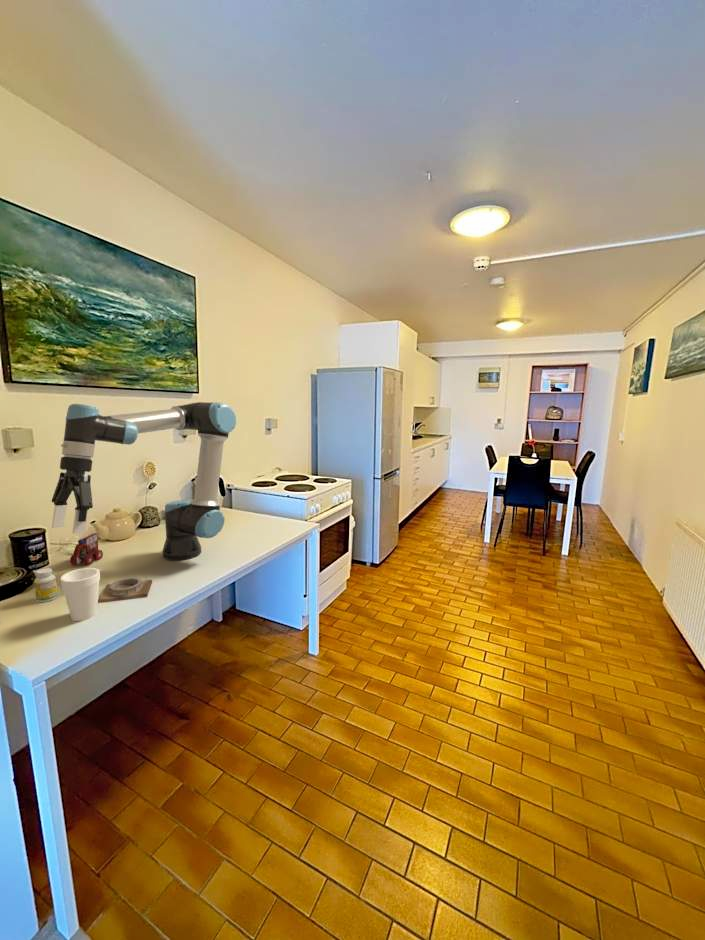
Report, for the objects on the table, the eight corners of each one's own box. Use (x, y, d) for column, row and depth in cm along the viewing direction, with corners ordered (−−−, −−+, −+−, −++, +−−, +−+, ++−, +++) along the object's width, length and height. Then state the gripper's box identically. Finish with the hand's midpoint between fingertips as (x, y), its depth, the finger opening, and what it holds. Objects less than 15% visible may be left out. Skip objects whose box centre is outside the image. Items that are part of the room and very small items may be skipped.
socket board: (152, 582, 137) (151, 574, 137) (147, 596, 127) (146, 588, 127) (107, 587, 133) (106, 579, 132) (98, 602, 122) (97, 593, 122)
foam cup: (109, 607, 120) (106, 568, 118) (90, 623, 111) (86, 581, 109) (78, 607, 119) (74, 567, 117) (56, 623, 110) (52, 581, 108)
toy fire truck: (66, 568, 147) (63, 542, 145) (90, 555, 159) (88, 531, 158) (83, 569, 147) (81, 543, 145) (106, 556, 159) (104, 532, 157)
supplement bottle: (57, 599, 123) (54, 571, 122) (35, 604, 120) (32, 575, 119) (57, 593, 128) (55, 565, 126) (37, 597, 125) (34, 569, 123)
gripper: (44, 454, 116) (34, 525, 114) (82, 456, 102) (72, 536, 101) (72, 457, 122) (64, 524, 121) (112, 460, 109) (103, 535, 107)
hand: (67, 530), depth 111 cm, fingers open, 13 cm apart
